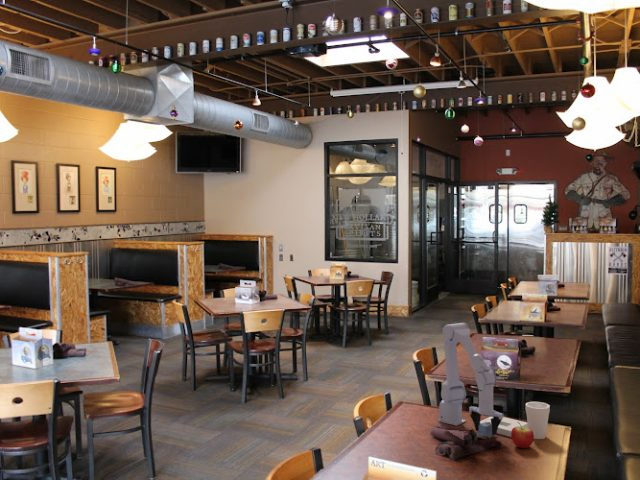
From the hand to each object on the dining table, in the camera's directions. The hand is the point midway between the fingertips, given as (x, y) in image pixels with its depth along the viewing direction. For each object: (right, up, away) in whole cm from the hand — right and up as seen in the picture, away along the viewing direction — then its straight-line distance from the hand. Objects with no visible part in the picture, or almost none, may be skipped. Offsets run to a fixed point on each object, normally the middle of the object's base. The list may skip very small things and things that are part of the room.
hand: (485, 432), depth 260 cm
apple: (+11, -3, -11) cm, 16 cm away
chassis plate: (+10, -1, +10) cm, 14 cm away
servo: (0, -2, 0) cm, 2 cm away
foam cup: (+21, -2, 0) cm, 21 cm away
